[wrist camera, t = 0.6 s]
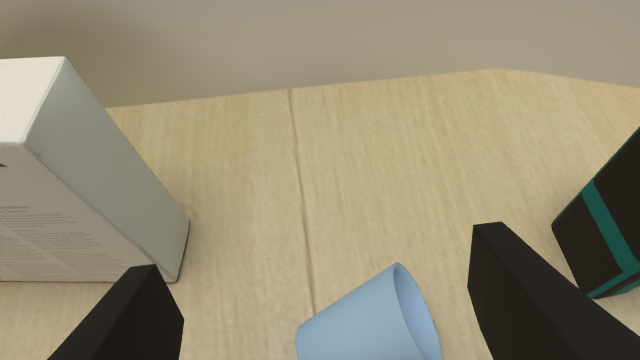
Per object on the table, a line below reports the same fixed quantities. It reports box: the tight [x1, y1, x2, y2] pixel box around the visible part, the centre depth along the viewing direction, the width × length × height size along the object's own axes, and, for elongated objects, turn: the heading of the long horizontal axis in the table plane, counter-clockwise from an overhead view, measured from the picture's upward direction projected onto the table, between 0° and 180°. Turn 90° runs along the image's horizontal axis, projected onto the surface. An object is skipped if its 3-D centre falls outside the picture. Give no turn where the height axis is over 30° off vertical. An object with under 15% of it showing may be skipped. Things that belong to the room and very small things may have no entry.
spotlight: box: [296, 263, 443, 360], centre depth 22 cm, size 5×10×7 cm
